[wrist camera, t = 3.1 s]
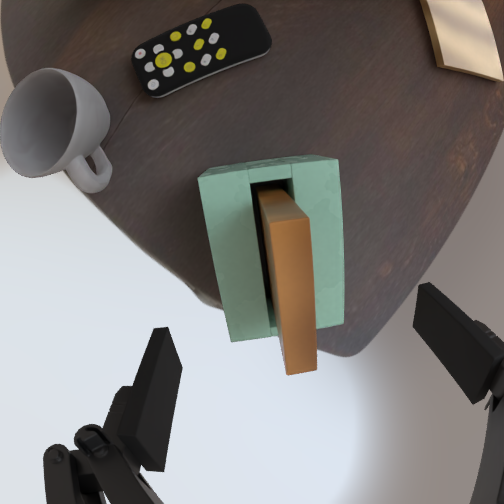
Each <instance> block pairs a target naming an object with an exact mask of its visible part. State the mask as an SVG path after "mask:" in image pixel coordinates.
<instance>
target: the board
mask: <svg viewBox="0 0 504 504" xmlns="http://www.w3.org/2000/svg"><path fill="white" fill-rule="evenodd" d="M420 3H421V6H422V9H423V13H424V16H425V19H426V23H427V26H428V30H429V34H430V37H431V41H432V45H433V50H434V54H435V59H436V64H437V67H440V68H445V69H450V70H455V71H459V72H463V73H467V74H471V75H475V76H479V77H483V78H486V79H490V80H493V81H496V82H501V81H504V79H503V74H502V69H501V64H500V60H499V55H498V51H497V47H496V43H495V40H494V36H493V33H492V29H491V26H490V23H489V20H488V17H487V14H486V11H485V8H484V5H483V3H482V0H420Z"/></svg>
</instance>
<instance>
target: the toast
mask: <svg viewBox="0 0 504 504" xmlns="http://www.w3.org/2000/svg"><path fill="white" fill-rule="evenodd" d="M255 191H256V198H257V205H258V212H259V219H260V227H261V234H262V241H263V248H264V256H265V263H266V270H267V278H268V285H269V291H270V296H271V301H272V306H273V311H274V316H275V321H276V325H277V330H278V335H279V340H280V345H281V350H282V355H283V360H284V365H285V370H286V374H287V375H293V374H299V373H304V372H309V371H314V370H317V338H316V309H315V287H314V270H313V255H312V241H311V228H310V218H309V217H308V216H307V215H306V214H305V212H304V211H303V210H302V209H301V208H300V207H299V206H298V205H297V204H296V203H295V202H294V201H293V199H292V198H291V197H290V196H289V195H288V194H287V193H286V192H285V191H284V190H283V189H282V188H281V187H280V186H279V185H278V184H269V185H262V186H256V187H255Z"/></svg>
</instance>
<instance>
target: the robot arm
mask: <svg viewBox="0 0 504 504" xmlns="http://www.w3.org/2000/svg"><path fill="white" fill-rule="evenodd" d="M413 328H414V329H415V330H416V331H417V333H418V334H419V335H420V336H421V337H422V339H423V340H424V341H425V342H426V344H427V345H428V346H429V347H430V349H431V350H432V351H433V352H434V354H435V355H436V356H437V357H438V359H439V360H440V361H441V363H442V364H443V365H444V366H445V368H446V369H447V370H448V372H449V373H450V374H451V376H452V377H453V378H454V379H455V381H456V382H457V384H458V385H459V386H460V388H461V389H462V390H463V392H464V393H465V395H466V396H467V397H468V398H469V400H470V401H471V403H472V404H475V403H477V402H479V401H481V400H482V399H484V398H485V396H486V394H487V392H488V390H489V389H490V391H491V392H492V395H491V397H490V399H489V401H488V403H487V404H486V406H485V410H486V409H487V408H488V406H489V405H490V406H489V416H488V423H487V431H486V437H485V443H484V449H483V454H482V459H481V463H480V468H479V472H478V476H477V480H476V484H475V487H474V491H473V494H472V498H471V501H470V504H504V342H503V341H502V340H501V339H500V338H499V337H498V336H496V334H495V333H494V332H492V331H491V330H490V329H489V328H488V327H487V326H486V325H485V324H483V323H481V322H479V321H477V320H475V321H473V320H472V319H471V318H469V317H468V316H467V315H466V314H465V313H464V312H463V311H462V310H461V309H460V308H459V307H457V306H456V305H455V304H454V303H453V302H452V301H451V300H450V299H449V298H447V297H446V296H445V295H444V294H443V293H441V291H439V290H438V289H437V288H436V287H435V286H434V285H432V284H431V283H430V282H428V283H424V284H420V285H419V286H418V294H417V301H416V308H415V315H414V321H413ZM181 373H182V364H181V362H180V359H179V356H178V354H177V351H176V348H175V346H174V343H173V340H172V337H171V334H170V331H169V328H168V327H164V328H154V329H153V332H152V335H151V337H150V340H149V342H148V345H147V348H146V350H145V353H144V355H143V358H142V361H141V364H140V366H139V369H138V372H137V375H136V377H135V380H134V383H133V386H122V387H121V388H120V389H119V391H118V392H117V393H116V394H115V397H114V399H113V402H112V405H111V407H110V409H109V410H110V412H108V415H107V417H106V420H105V423H104V426H103V428H101V427H100V426H98V425H95V424H89V425H86V426H83V427H82V428H80V429H79V430H78V431H77V433H76V434H75V437H74V444H75V445H76V446H77V448H78V449H79V450H72V451H69V450H68V449H67V448H66V447H65V446H64V445H61V444H54V445H52V446H50V447H49V448H48V449H46V451H45V453H44V457H43V464H44V465H43V466H44V480H45V492H46V501H47V504H106V500H105V497H104V493H105V495H106V496H107V498H108V500H109V502H110V503H111V504H164V503H163V502H162V501H161V500H160V498H159V497H158V496H157V494H156V493H155V492H154V491H153V489H152V488H151V487H150V485H149V484H148V483H147V481H146V480H145V479H144V477H143V476H142V475H141V473H140V467H141V465H142V466H143V467H144V468H145V470H146V471H156V472H164V469H165V463H166V456H167V450H168V444H169V438H170V433H171V427H172V421H173V415H174V410H175V404H176V399H177V394H178V389H179V384H180V378H181ZM103 491H104V493H103Z"/></svg>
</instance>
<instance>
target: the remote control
mask: <svg viewBox="0 0 504 504" xmlns="http://www.w3.org/2000/svg"><path fill="white" fill-rule="evenodd" d="M271 44H272V39H271V36H270V34H269V32H268V30H267V28H266V27H265V25H264V23H263V21H262V19H261V17H260V15H259V13H258V12H257V10H256V9H255V8H254V7H252V6H251V5H248V4H237V5H233V6H230V7H227V8H224V9H221V10H218V11H216V12H213V13H210V14H207V15H205V16H202V17H199V18H197V19H194V20H192V21H189V22H187V23H185V24H182V25H180V26H178V27H175V28H173V29H171V30H169V31H167V32H164V33H162V34H160V35H158V36H156V37H154V38H152V39H150V40H148V41H146V42H144V43H142V44H141V45H139V46H138V47H137V48H136V49H135V50H134V52H133V54H132V58H131V60H132V64H133V67H134V69H135V71H136V74H137V76H138V79H139V81H140V83H141V86H142V88H143V90H144V92H145V93H146V94H147V95H149V96H151V97H155V98H160V97H164V96H166V95H168V94H170V93H172V92H174V91H177V90H179V89H181V88H183V87H185V86H187V85H189V84H192V83H194V82H196V81H198V80H201V79H203V78H205V77H208V76H210V75H213V74H215V73H218V72H220V71H223V70H225V69H228V68H230V67H233V66H236V65H238V64H241V63H244V62H247V61H250V60H253V59H256V58H259V57H261V56H264V55H265V54H266V53H268V51H269V50H270V48H271Z"/></svg>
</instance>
